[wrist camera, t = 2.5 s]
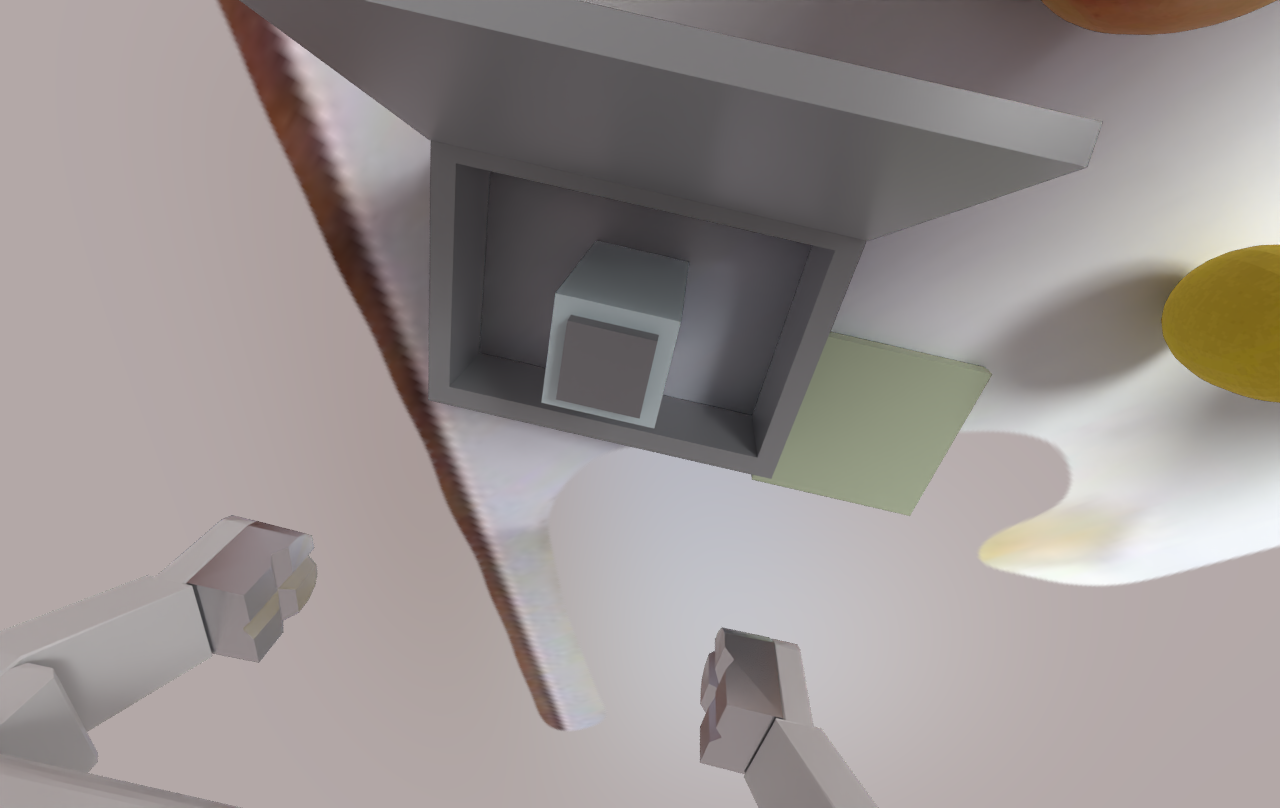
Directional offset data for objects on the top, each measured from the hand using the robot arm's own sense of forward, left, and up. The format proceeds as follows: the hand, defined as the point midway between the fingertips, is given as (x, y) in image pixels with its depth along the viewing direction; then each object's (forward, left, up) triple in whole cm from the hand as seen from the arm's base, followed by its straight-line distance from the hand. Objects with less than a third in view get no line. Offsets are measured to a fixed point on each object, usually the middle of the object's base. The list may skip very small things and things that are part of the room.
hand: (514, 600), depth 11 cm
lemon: (-24, -6, -19) cm, 31 cm away
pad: (-13, +4, -19) cm, 23 cm away
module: (0, 0, -19) cm, 19 cm away
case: (0, -2, -19) cm, 19 cm away
